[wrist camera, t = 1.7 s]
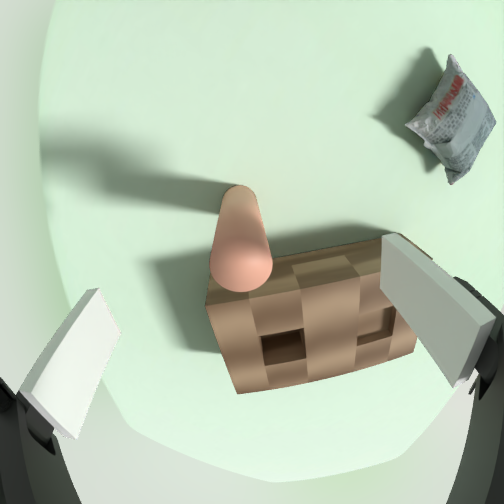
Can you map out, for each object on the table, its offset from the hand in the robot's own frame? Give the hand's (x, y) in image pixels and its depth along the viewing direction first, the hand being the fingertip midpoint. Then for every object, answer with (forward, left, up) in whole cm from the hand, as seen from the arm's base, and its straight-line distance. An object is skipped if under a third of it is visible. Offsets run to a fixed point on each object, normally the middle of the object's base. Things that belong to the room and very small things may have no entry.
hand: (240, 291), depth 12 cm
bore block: (+12, +6, -14) cm, 19 cm away
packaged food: (-7, +23, -14) cm, 28 cm away
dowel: (0, 0, -14) cm, 14 cm away
